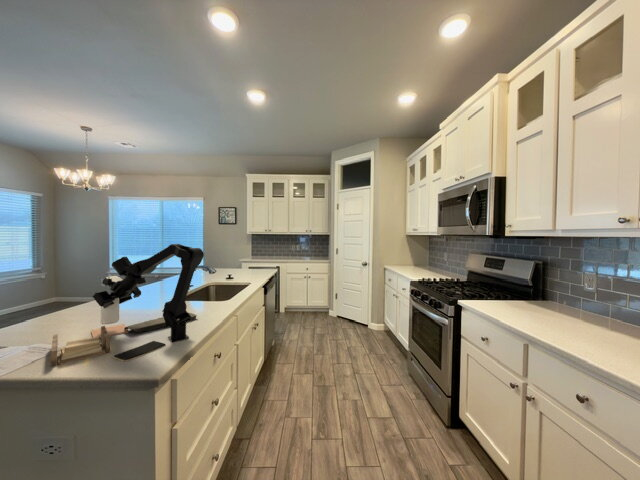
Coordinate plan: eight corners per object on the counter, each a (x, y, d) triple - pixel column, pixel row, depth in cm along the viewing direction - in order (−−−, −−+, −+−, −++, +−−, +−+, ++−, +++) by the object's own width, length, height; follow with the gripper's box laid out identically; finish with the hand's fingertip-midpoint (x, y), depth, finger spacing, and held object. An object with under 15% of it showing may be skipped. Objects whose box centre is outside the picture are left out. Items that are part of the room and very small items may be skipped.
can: (109, 319, 120) (110, 293, 120) (122, 320, 119) (123, 294, 119) (96, 324, 113) (96, 296, 113) (110, 324, 113) (110, 297, 113)
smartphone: (166, 343, 103) (125, 359, 89) (166, 346, 103) (125, 363, 89) (154, 340, 106) (112, 355, 92) (154, 343, 106) (112, 358, 92)
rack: (110, 352, 96) (110, 339, 96) (51, 366, 86) (51, 351, 85) (104, 337, 110) (104, 325, 110) (53, 348, 99) (53, 335, 99)
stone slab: (123, 324, 118) (188, 309, 142) (123, 331, 118) (188, 314, 142) (132, 330, 112) (199, 312, 136) (132, 337, 112) (199, 319, 136)
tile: (128, 332, 116) (128, 330, 116) (93, 339, 108) (93, 337, 108) (124, 325, 125) (124, 324, 125) (91, 331, 116) (91, 330, 116)
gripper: (136, 267, 124) (116, 289, 127) (96, 273, 106) (74, 298, 108) (150, 284, 123) (130, 306, 125) (112, 293, 105) (90, 318, 107)
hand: (107, 307), depth 116 cm, fingers closed on can, 5 cm apart
